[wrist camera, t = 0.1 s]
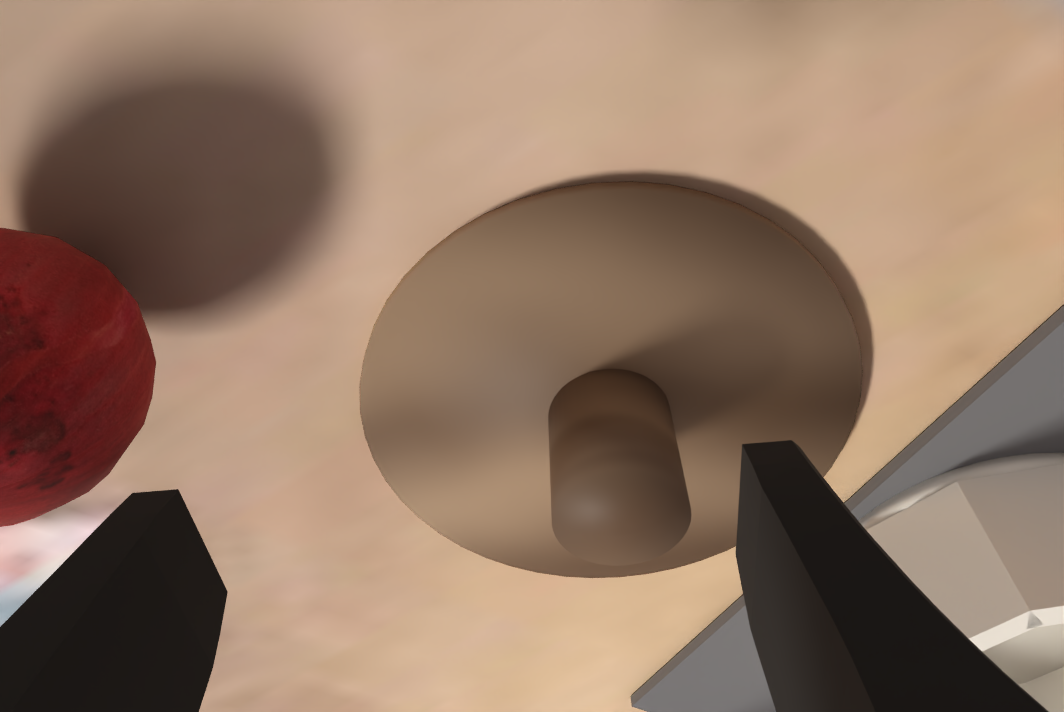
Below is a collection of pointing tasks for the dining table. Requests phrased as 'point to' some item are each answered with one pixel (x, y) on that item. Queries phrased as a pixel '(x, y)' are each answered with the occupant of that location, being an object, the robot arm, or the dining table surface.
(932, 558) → the bowl
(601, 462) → the lid
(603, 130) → the dining table surface
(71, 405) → the onion
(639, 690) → the placemat
